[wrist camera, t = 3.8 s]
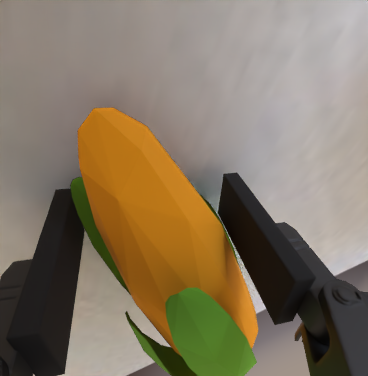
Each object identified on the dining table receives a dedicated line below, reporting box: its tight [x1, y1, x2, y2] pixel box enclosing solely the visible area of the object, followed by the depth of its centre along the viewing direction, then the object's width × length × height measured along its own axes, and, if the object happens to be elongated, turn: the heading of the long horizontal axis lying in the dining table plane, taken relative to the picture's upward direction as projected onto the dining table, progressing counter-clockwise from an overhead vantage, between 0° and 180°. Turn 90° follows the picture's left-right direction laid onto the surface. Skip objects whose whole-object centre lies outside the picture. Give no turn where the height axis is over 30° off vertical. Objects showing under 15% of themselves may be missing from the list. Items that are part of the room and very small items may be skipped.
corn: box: [70, 108, 258, 376], centre depth 14 cm, size 7×8×20 cm
